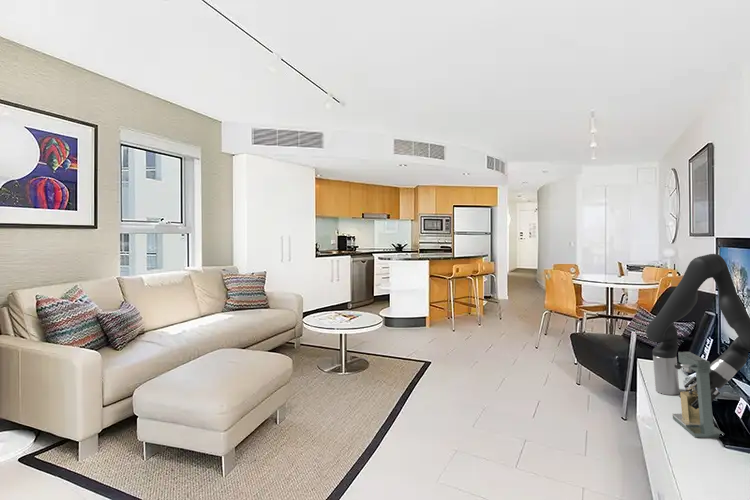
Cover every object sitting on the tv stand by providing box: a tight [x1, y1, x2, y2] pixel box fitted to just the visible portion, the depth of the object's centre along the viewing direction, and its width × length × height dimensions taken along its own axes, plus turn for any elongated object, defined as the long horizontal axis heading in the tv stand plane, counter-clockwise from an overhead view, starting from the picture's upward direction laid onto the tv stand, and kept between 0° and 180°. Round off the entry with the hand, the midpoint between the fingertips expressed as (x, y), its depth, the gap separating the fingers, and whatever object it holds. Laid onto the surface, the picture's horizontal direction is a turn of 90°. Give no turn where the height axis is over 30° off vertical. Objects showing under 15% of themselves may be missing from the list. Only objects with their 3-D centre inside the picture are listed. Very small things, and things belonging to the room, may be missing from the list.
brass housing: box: [679, 391, 700, 422], centre depth 161 cm, size 5×5×11 cm
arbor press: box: [672, 351, 725, 439], centre depth 158 cm, size 16×13×28 cm
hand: (687, 403), depth 161 cm, fingers open, 8 cm apart
